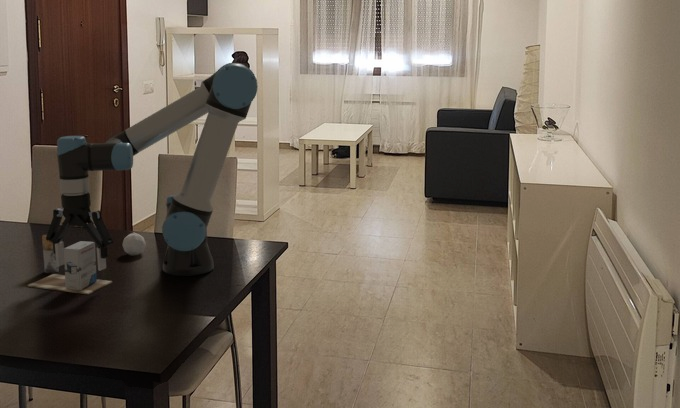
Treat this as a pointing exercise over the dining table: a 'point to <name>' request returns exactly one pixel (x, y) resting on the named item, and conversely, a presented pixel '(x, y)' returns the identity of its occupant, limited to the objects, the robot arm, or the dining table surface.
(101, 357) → the dining table surface
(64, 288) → the panel
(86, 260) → the ink box
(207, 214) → the robot arm
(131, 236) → the ornament
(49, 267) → the brown grey rounded cylinder
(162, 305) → the dining table surface
